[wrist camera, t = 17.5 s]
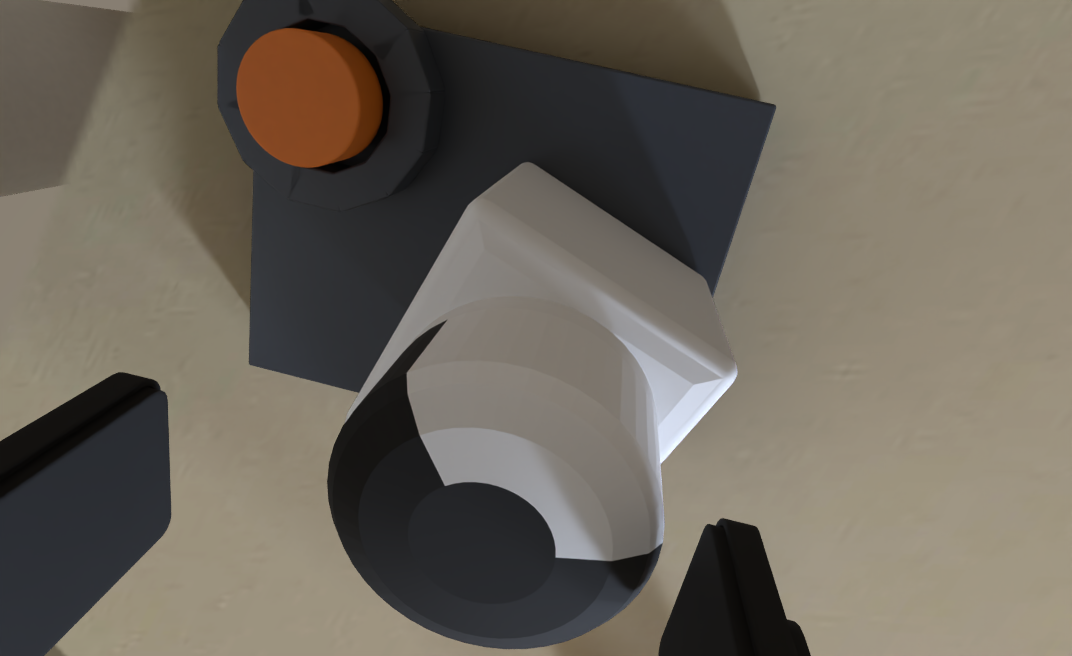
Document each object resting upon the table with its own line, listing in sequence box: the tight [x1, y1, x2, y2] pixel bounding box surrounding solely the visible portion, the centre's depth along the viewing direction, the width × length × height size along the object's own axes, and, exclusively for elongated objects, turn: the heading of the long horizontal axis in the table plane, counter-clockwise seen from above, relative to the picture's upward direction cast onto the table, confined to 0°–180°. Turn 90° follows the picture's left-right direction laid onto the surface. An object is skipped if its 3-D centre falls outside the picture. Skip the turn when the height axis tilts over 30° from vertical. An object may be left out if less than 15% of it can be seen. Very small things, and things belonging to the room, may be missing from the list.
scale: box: [218, 0, 776, 393], centre depth 21 cm, size 16×14×4 cm
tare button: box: [236, 28, 383, 168], centre depth 18 cm, size 4×4×2 cm
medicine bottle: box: [327, 162, 738, 649], centre depth 16 cm, size 7×7×12 cm
